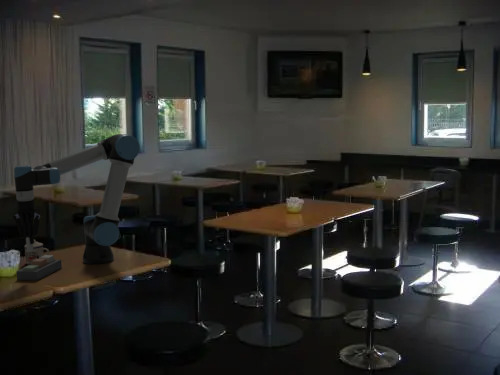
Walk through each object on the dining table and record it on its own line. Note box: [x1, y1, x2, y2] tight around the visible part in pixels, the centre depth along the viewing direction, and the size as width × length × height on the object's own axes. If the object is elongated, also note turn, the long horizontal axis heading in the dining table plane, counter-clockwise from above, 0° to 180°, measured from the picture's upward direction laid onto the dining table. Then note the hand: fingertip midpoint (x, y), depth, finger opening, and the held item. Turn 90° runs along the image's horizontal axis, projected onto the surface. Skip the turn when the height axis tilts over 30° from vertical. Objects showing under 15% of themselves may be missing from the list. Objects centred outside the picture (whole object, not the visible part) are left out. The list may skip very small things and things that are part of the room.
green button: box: [22, 264, 39, 271], centre depth 288 cm, size 5×5×4 cm
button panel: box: [16, 259, 62, 281], centre depth 295 cm, size 10×22×4 cm, turn 168°
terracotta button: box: [32, 259, 47, 267], centre depth 295 cm, size 5×5×4 cm
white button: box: [40, 254, 55, 263], centre depth 302 cm, size 5×5×4 cm
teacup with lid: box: [23, 239, 50, 266], centre depth 317 cm, size 12×9×12 cm
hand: (30, 251), depth 288 cm, fingers closed
